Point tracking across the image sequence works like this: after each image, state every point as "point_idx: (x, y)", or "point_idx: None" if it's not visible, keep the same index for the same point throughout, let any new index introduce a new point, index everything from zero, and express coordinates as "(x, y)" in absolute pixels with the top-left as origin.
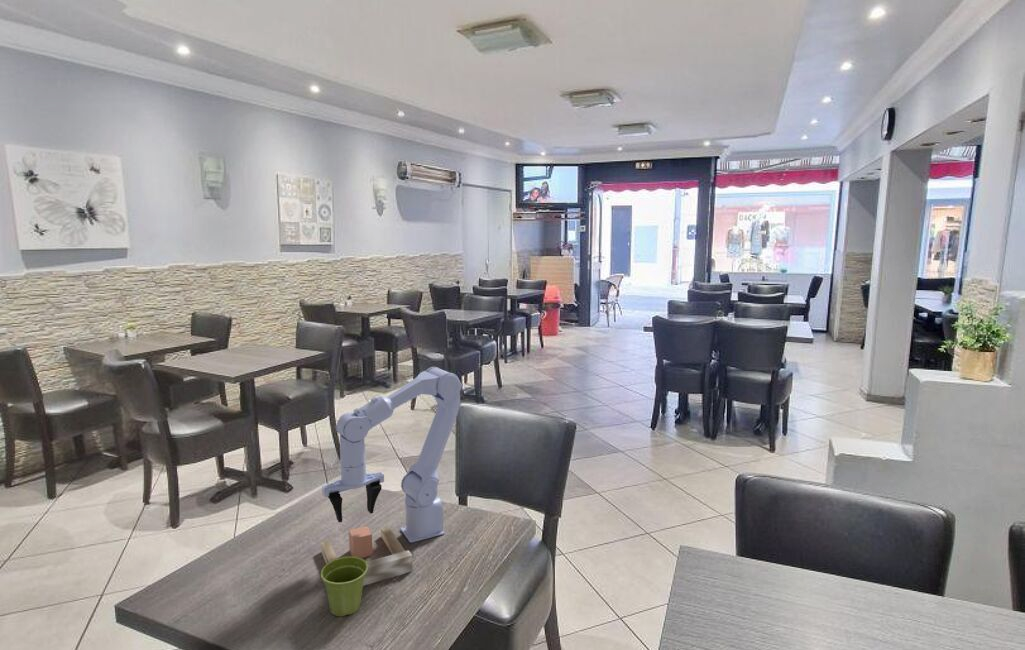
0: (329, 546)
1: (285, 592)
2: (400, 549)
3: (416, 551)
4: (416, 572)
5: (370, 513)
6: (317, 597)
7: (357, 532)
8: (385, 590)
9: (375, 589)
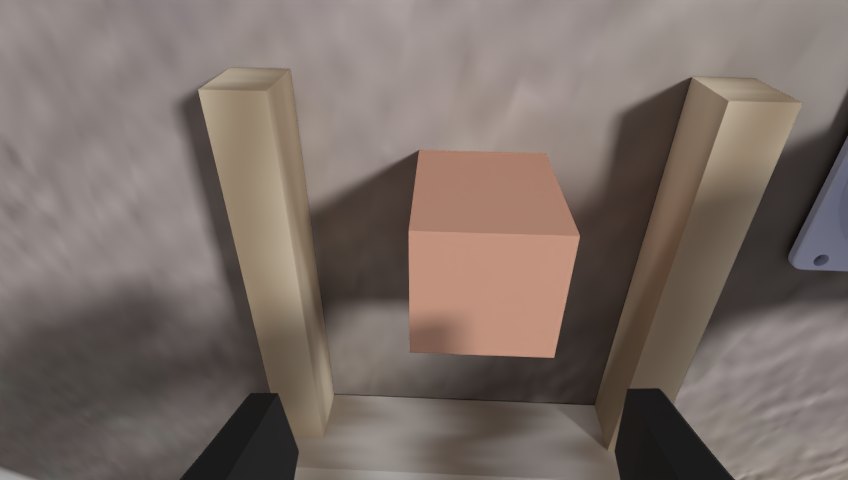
0: (266, 180)
1: (81, 336)
2: None
3: (748, 334)
4: None
5: (615, 450)
6: (223, 411)
7: (465, 291)
8: None
9: None
